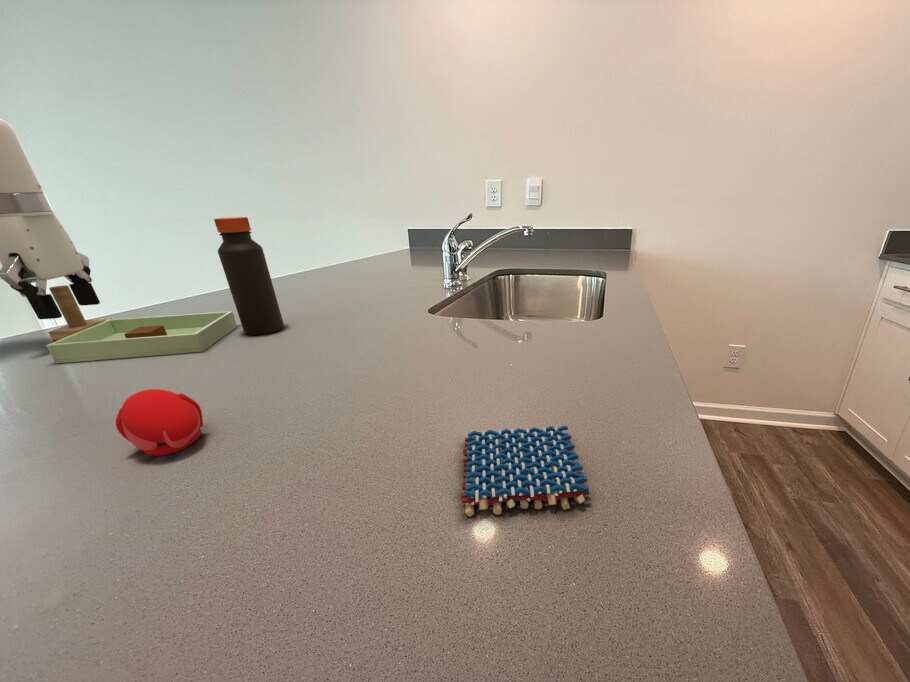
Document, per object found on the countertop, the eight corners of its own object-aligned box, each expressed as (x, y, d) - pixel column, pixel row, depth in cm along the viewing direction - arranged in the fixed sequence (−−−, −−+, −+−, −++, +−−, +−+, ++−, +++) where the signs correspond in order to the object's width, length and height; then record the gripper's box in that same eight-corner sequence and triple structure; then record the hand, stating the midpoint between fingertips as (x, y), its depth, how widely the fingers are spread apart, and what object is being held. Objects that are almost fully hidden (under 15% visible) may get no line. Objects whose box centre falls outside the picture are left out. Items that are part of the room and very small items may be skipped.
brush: (85, 344, 73) (57, 290, 69) (56, 346, 72) (26, 292, 68) (111, 332, 79) (87, 282, 75) (85, 334, 78) (59, 283, 74)
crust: (128, 345, 70) (123, 334, 69) (143, 337, 74) (138, 327, 73) (154, 343, 71) (150, 332, 70) (167, 335, 74) (163, 325, 73)
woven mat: (464, 444, 42) (462, 427, 41) (566, 438, 42) (567, 421, 41) (459, 518, 32) (458, 499, 31) (591, 509, 33) (593, 489, 32)
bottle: (272, 335, 75) (238, 218, 66) (236, 336, 75) (197, 219, 66) (291, 324, 81) (261, 216, 72) (257, 325, 81) (224, 217, 72)
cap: (226, 435, 44) (206, 385, 42) (167, 467, 39) (140, 413, 37) (179, 422, 47) (158, 375, 44) (118, 450, 42) (90, 399, 39)
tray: (55, 363, 65) (45, 345, 63) (116, 335, 77) (108, 319, 76) (202, 351, 68) (195, 334, 67) (237, 326, 81) (232, 311, 79)
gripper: (36, 205, 73) (83, 300, 80) (-69, 209, 57) (2, 327, 65) (84, 203, 74) (126, 298, 82) (-6, 207, 59) (57, 323, 66)
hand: (71, 310), depth 73 cm, fingers open, 8 cm apart
